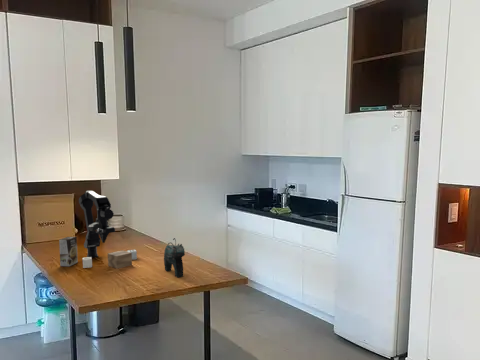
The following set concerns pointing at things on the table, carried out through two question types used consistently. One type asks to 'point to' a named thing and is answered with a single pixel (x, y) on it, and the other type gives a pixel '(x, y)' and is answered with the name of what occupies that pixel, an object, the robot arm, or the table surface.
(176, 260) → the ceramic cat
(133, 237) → the table surface
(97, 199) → the robot arm
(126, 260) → the plain walnut block
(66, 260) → the coffee box
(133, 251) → the grey numeral block
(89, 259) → the offwhite numeral block
